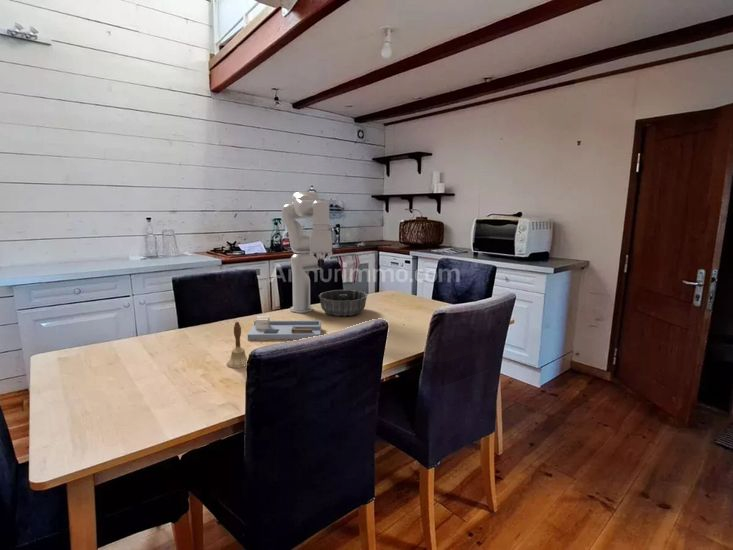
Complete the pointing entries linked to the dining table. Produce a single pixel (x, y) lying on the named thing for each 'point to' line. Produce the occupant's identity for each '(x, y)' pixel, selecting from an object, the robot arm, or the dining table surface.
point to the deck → (285, 330)
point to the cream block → (262, 322)
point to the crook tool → (301, 330)
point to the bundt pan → (343, 302)
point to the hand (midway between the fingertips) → (320, 267)
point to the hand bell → (237, 350)
